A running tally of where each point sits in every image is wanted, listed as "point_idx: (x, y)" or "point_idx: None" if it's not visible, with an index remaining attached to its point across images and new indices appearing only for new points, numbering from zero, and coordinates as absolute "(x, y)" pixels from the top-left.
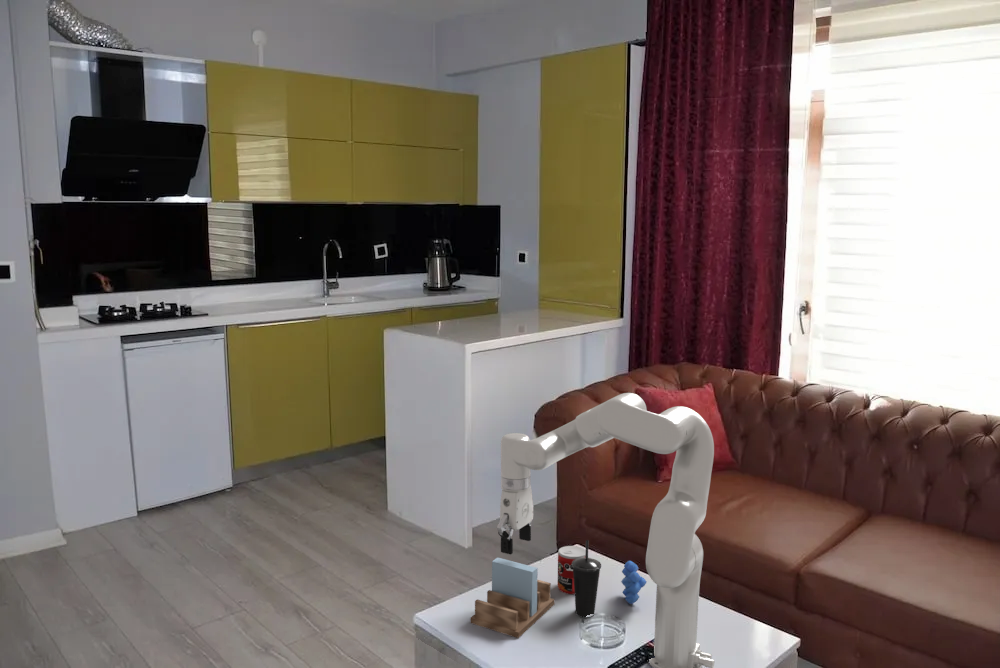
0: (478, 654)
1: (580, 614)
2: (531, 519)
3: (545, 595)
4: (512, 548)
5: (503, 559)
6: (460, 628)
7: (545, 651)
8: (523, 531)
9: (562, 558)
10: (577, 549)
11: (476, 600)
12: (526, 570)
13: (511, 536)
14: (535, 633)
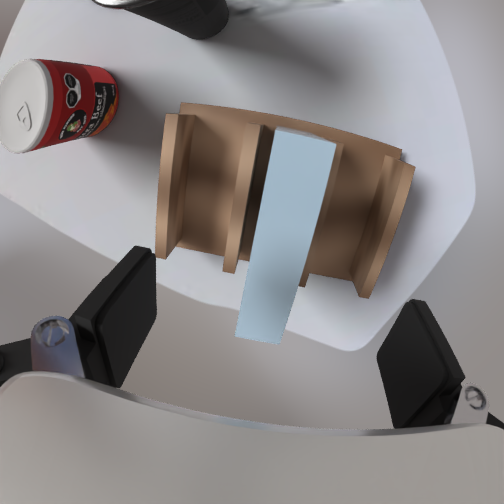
0: (464, 219)
1: (227, 18)
2: (69, 401)
3: (190, 125)
4: (430, 321)
5: (243, 312)
6: (381, 285)
7: (426, 76)
8: (129, 333)
9: (53, 118)
10: (4, 104)
11: (365, 296)
12: (327, 180)
13: (458, 400)
14: (360, 109)
